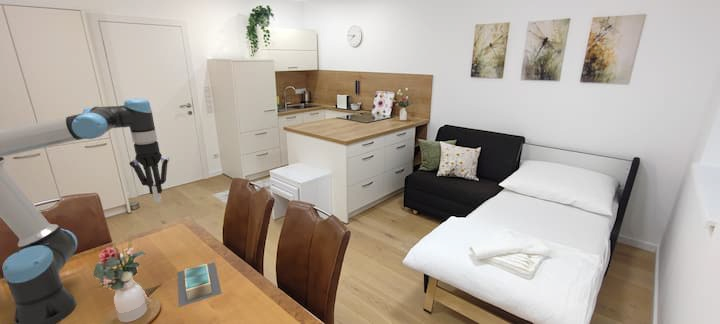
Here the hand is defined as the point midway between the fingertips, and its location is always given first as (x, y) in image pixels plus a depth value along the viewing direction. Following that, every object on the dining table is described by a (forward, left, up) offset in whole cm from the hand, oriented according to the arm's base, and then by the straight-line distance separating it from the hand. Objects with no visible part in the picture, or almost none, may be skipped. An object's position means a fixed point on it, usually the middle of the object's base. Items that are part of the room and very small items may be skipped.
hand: (158, 200), depth 127 cm
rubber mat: (+13, -14, -30) cm, 36 cm away
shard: (-6, -16, -31) cm, 35 cm away
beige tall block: (+12, -9, -28) cm, 31 cm away
